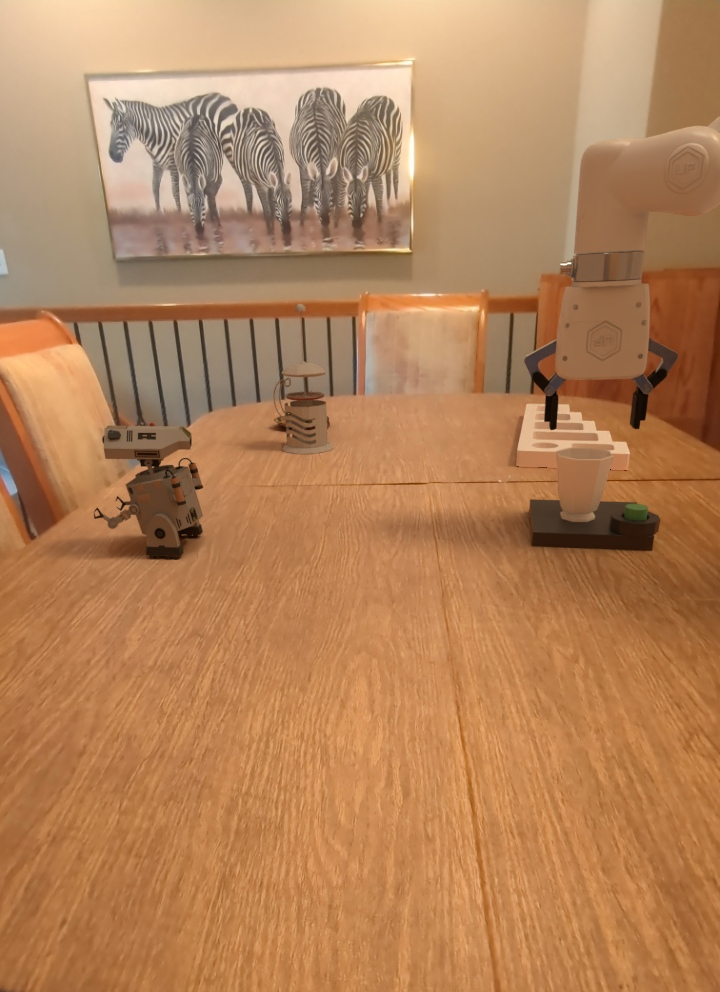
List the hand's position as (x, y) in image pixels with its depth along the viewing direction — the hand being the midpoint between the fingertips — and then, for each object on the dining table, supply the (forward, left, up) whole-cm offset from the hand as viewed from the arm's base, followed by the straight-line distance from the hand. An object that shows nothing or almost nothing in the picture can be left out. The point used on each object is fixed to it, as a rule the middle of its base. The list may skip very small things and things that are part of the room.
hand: (593, 427), depth 92 cm
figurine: (+53, +13, -13) cm, 56 cm away
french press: (+48, -43, -13) cm, 66 cm away
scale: (0, +1, -13) cm, 13 cm away
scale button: (-5, +5, -10) cm, 12 cm away
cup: (0, 0, -11) cm, 11 cm away
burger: (+53, -62, -13) cm, 82 cm away
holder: (-2, -54, -13) cm, 55 cm away
